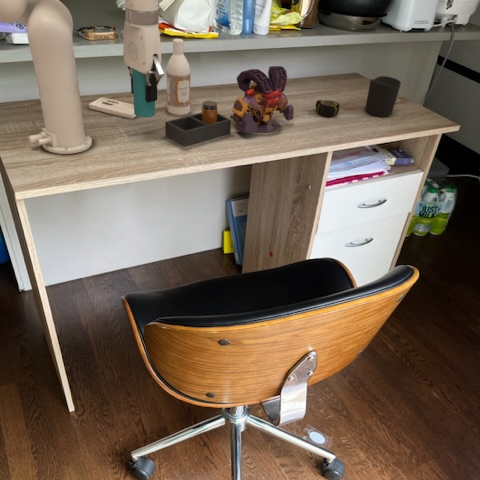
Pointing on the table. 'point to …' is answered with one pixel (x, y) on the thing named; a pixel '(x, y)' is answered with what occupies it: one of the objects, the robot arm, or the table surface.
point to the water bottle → (141, 96)
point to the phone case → (113, 107)
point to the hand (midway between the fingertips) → (144, 96)
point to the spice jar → (209, 112)
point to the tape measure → (327, 107)
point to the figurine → (261, 100)
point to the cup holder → (196, 129)
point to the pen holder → (382, 96)
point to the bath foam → (178, 80)
